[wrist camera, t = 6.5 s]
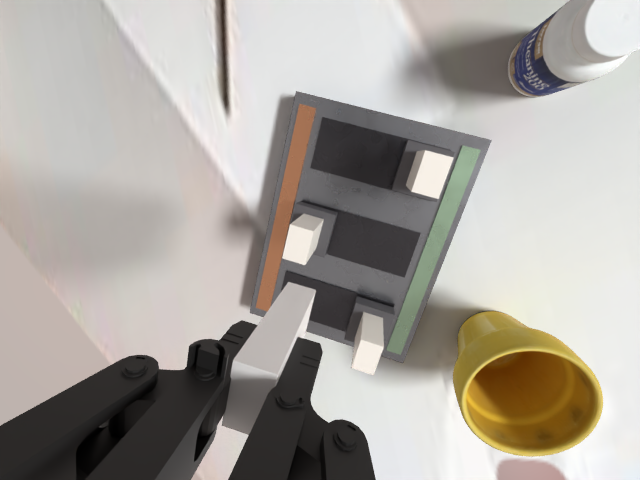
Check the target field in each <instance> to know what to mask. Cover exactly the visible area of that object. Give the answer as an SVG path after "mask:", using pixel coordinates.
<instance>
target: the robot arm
mask: <svg viewBox="0 0 640 480" xmlns="http://www.w3.org/2000/svg"><path fill="white" fill-rule="evenodd" d="M315 292H316V290H315V289H311V288H308V287H304V286H301V285H298V284H294V283H291V282H288V283H287V285H286V286H285V287H284V289H283V290H282V292H281V293H280V294H279V296H278V297H277V299H276V300H275V302H274V303H273V304H272V306H271V307H270V309H269V310H268V311H267V313H266V314H265V316H264V317H263V319H262V320H261V321H260V323H259V324H258V325H255V324H252V323H249V322H245V321H240V322H238V323H236V324H234V325H232V326H231V327H230V329H229V330H228V331H227V332H226V334H224V336H223V337H222V338H221V339H220V340H219V341H218V340H213V339H204V340H199V341H196V342H194V343H193V344H191V345H190V346H189V352H188V360H187V367H186V368H185V369H184V370H161V369H159V366H158V362H157V361H156V360H155V359H154V358H152V357H150V356H147V355H134V356H129V357H126V358H124V359H121V360H119V361H118V362H116V363H114V364H112V365H110V366H108V367H107V368H105V369H103V370H101V371H99V372H98V373H96V374H94V375H92V376H90V377H88V378H87V379H85V380H83V381H81V382H79V383H77V384H76V385H74V386H72V387H70V388H68V389H67V390H65V391H63V392H61V393H59V394H57V395H56V396H54V397H52V398H50V399H48V400H46V401H45V402H43V403H41V404H40V405H37V406H36V407H34V408H32V409H30V410H28V411H26V412H25V413H23V414H21V415H19V416H17V417H15V418H14V419H12V420H10V421H8V422H6V423H4V424H3V425H1V426H0V480H191V478H192V477H193V475H194V473H195V471H196V470H197V468H198V466H199V464H200V463H201V461H202V459H203V457H204V456H205V454H206V452H207V450H208V449H209V447H210V445H211V443H212V442H213V440H214V437H215V434H216V429H217V425H218V423H219V421H220V420H221V418H222V416H223V421H222V426H225V427H228V428H231V429H234V430H237V431H240V432H242V433H245V434H248V435H249V436H248V438H247V440H246V442H245V445H244V447H243V449H242V451H241V453H240V455H239V458H238V460H237V462H236V464H235V466H234V468H233V471H232V473H231V475H230V477H229V479H228V480H376V479H375V475H374V470H373V465H372V461H371V456H370V452H369V447H368V443H367V440H366V437H365V435H364V433H363V432H362V431H361V430H360V428H359V427H358V426H356V425H355V424H353V423H352V422H349V421H346V420H334V421H332V422H330V423H328V422H327V421H325V420H324V419H322V418H321V417H320V416H319V415H317V413H316V412H315V411H314V409H313V407H312V405H311V401H310V398H311V393H312V390H313V386H314V382H315V379H316V375H317V371H318V368H319V364H320V360H321V357H322V353H323V352H322V349H321V345H320V343H316V342H313V341H310V340H307V339H304V336H305V333H306V329H307V325H308V321H309V317H310V313H311V309H312V305H313V301H314V297H315Z"/></svg>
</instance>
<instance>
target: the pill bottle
mask: <svg viewBox="0 0 640 480" xmlns="http://www.w3.org/2000/svg"><path fill="white" fill-rule="evenodd" d="M638 49H640V0H570V1H569V2H567V3H566V4H565V5H564V6H562V7H561V8H560V9H559V10H558V11H556V12H555V13H554V14H553V15H551V16H550V17H549V18H548V19H546V20H545V21H544V22H542V23H541V24H540V25H539V26H537V27H536V28H535V29H534V30H532V31H531V32H530V33H528V34H527V35H526V36H525V37H524V38H523V39H522V40H521V41H520V42H519V43H518V44H517V45H516V47H515V48H514V50H513V52H512V54H511V56H510V59H509V63H508V76H509V80H510V82H511V84H512V85H513V87H514V88H515V89H516V90H517V91H518V92H519V93H521V94H523V95H526V96H530V97H541V96H546V95H549V94H552V93H555V92H558V91H561V90H564V89H567V88H570V87H573V86H576V85H579V84H582V83H585V82H588V81H591V80H594V79H597V78H599V77H601V76H603V75H605V74H607V73H609V72H611V71H612V70H614V69H615V68H616V67H618V66H619V65H620V64H621V63H622V62H623V61H624V60H625V59H626V58H627V57H628V56H629V54H630V53H632V52H634V51H636V50H638Z"/></svg>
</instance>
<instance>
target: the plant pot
mask: <svg viewBox="0 0 640 480" xmlns="http://www.w3.org/2000/svg"><path fill="white" fill-rule="evenodd" d="M453 384H454V389H455V393H456V397H457V401H458V404H459V407H460V410H461V413H462V416H463V418H464V420H465V422H466V424H467V425H468V427H469V428H470V429H471V431H472V432H473V433H474V434H475V435H476V436H477V437H478V438H480V439H481V440H482V441H483V442H485V443H486V444H488V445H490V446H491V447H493V448H495V449H498V450H500V451H503V452H506V453H510V454H514V455H520V456H545V455H551V454H556V453H559V452H562V451H565V450H567V449H570V448H572V447H574V446H575V445H577V444H579V443H580V442H581V441H583V440H584V439H585V438H586V437H587V436H588V435H589V434H590V433H591V432H592V431H593V429H594V428H595V426H596V425H597V423H598V421H599V419H600V416H601V413H602V407H603V396H602V391H601V387H600V385H599V382H598V380H597V378H596V377H595V375H594V373H593V372H592V371H591V369H590V368H589V367H588V366H587V365H586V364H585V363H584V362H583V361H582V360H581V359H580V358H579V357H578V356H577V355H576V354H575V353H574V352H573V351H572V350H571V349H570V348H569V347H567V346H566V345H565V344H564V343H563V342H561V341H560V340H559V339H557V338H556V337H554V336H552V335H550V334H548V333H545V332H543V331H540V330H536V329H532V328H529V327H527V326H525V325H524V324H522V323H521V322H519V321H517V320H516V319H514V318H513V317H511V316H509V315H507V314H504V313H501V312H496V311H486V312H481V313H478V314H475V315H473V316H471V317H470V318H468V319H467V320H466V321H465V322H464V323H463V325H462V326H461V328H460V330H459V333H458V359H457V361H456V363H455V366H454V372H453Z"/></svg>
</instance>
